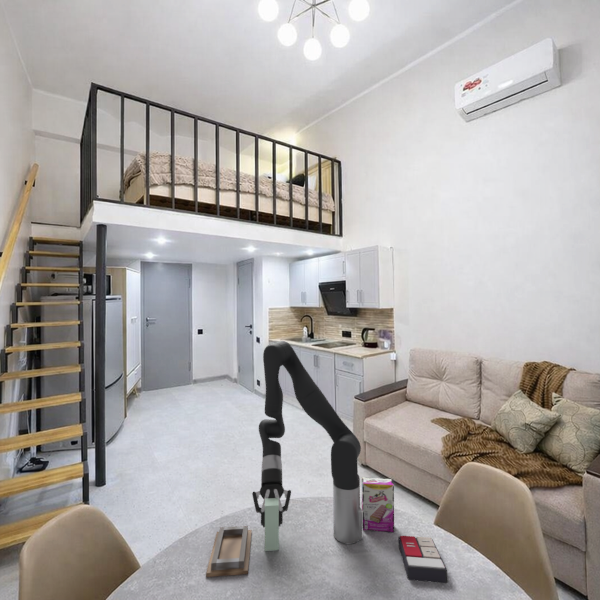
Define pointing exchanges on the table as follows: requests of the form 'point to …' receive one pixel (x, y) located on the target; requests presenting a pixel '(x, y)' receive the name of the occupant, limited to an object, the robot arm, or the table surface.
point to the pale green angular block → (271, 524)
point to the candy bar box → (377, 504)
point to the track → (230, 552)
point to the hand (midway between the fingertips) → (271, 526)
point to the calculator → (422, 559)
